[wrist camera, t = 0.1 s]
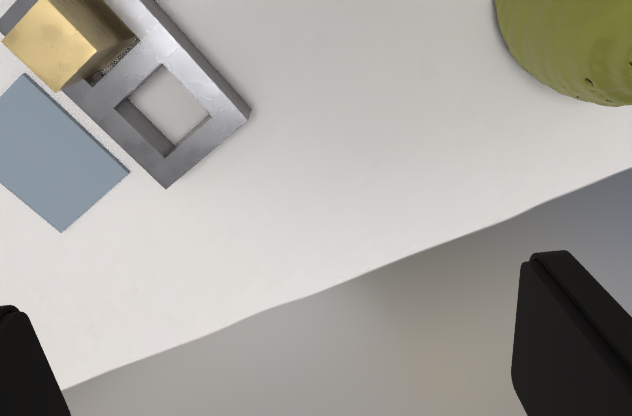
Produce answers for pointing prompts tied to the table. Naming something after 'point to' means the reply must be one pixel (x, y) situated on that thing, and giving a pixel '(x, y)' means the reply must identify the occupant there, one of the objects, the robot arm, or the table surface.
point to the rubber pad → (51, 156)
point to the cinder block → (132, 71)
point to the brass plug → (68, 40)
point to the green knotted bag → (573, 45)
